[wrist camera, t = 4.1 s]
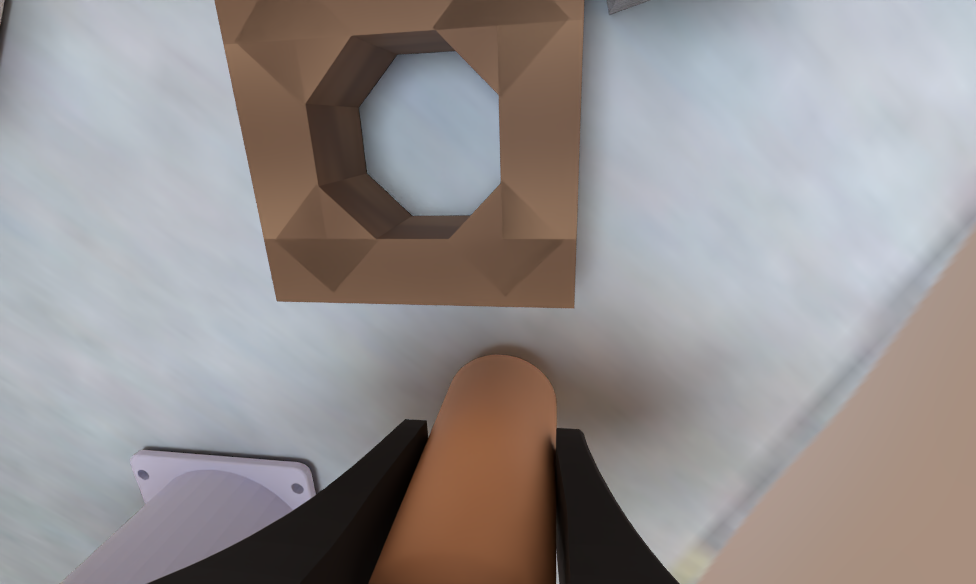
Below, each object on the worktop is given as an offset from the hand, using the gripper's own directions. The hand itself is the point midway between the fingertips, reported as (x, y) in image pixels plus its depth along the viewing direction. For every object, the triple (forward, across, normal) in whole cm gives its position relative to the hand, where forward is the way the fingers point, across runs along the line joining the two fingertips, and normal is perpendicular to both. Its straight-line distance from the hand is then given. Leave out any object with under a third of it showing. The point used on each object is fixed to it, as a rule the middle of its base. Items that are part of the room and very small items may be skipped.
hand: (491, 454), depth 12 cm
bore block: (+4, +2, -8) cm, 9 cm away
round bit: (+2, 0, 0) cm, 2 cm away
